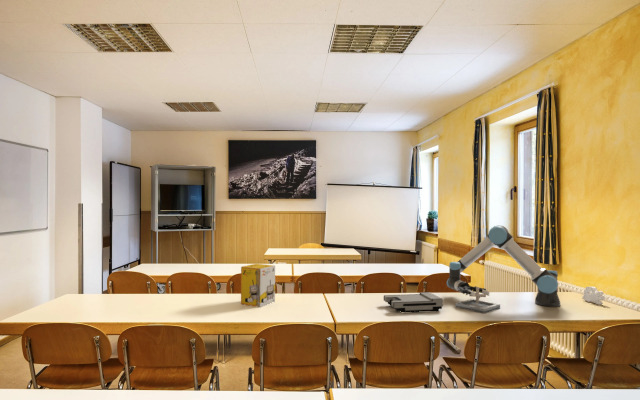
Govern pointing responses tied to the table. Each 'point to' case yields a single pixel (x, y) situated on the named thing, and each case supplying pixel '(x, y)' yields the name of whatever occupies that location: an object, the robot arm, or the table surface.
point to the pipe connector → (478, 295)
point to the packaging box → (257, 284)
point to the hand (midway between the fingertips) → (481, 293)
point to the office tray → (415, 302)
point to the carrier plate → (478, 305)
